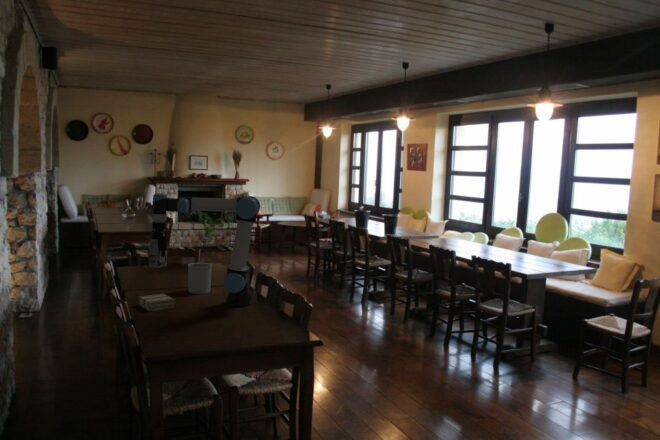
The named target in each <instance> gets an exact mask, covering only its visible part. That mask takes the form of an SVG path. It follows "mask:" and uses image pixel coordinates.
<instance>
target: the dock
mask: <svg viewBox="0 0 660 440" xmlns="http://www.w3.org/2000/svg"><path fill="white" fill-rule="evenodd" d="M175 301H176V300H175V298H173V297H170V296H169V295H168V294H167V295H166V294H165V293H157V294H149V295H141V296H140V295H139V297H138V303H139V304H138V305H139V306H140V307H141V308H143V309H145V310H147V311H149V312H156V311H157V312H158V311H164V310H171V309H175Z"/></svg>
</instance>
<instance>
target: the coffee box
mask: <svg viewBox="0 0 660 440" xmlns="http://www.w3.org/2000/svg"><path fill="white" fill-rule="evenodd" d="M168 239H169V238H168V237H166V244H167V248H168V244H169V242H168V241H169V240H168ZM160 243H161V239H157V238H152V237H151V238H150V239H149V253H148V254H149V257H148V260H149V261H148V267H149V268H155V269H160V268H164V267H167V266H168V249H167V250H166V251H165V262H162V263H160V251H159V250H160Z"/></svg>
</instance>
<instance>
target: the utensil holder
mask: <svg viewBox="0 0 660 440" xmlns="http://www.w3.org/2000/svg"><path fill="white" fill-rule="evenodd" d="M212 267H213V265H212V263H210V262H209V263H208V262H191V263H188V264H187V269H188V271H187V273H188V275H187V276H188V277H187V289H188V290H187V291H188V292H189V293H190V294H193V295H194V294H195V295H201V294H202V295H203V294H208V293H210V292H211V287H212V286H211V283H212V281H211V280H212Z"/></svg>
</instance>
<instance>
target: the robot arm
mask: <svg viewBox="0 0 660 440" xmlns="http://www.w3.org/2000/svg"><path fill="white" fill-rule="evenodd" d="M260 209H261V203H260V201H259V199H258V198H256V197H255V196H254V195H253V196H252V195H247V196H238V197H236V198H221V197H220V198H218V197H188V196H181V197H179V198H173V197H171V198H170V197H168V195H167V194H166V193H154V194H153V196H152V215H151V219H152V222H151V228H152V230H151V231H152V234H151V239H152V238H157V239H161V243H160V250H159V251H160V263H162V262H165V251H166V250H167V251H168V247H167V244H166V238H167V232H164V230H165V229H167V215H168V214H167V212H173V213H188V212H189V211H199V212H200V211H202V212H205V211H206V212H230V213H231V212H233V213H235V221H236V222H237V224H236V228H235V235H234V240H233V247H232V248H233V249H232V254H231V260H230V264H229V265H227V267H226V272H225V276H224V277H223V286H224V288H225V289H226V291H228V293H227V295H226V298H225V305H226V306H230V307H247V306H250V305H252V298H251V297H252V296H251V294H250V291H249V290H250V289H249V288H250V270H251V269H250V267H249V265H247V262H248V255H249V249H250V243H251V237H252V231H253V226H254V225H255V224H256V223H257V218H258V213H259V211H260Z"/></svg>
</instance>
